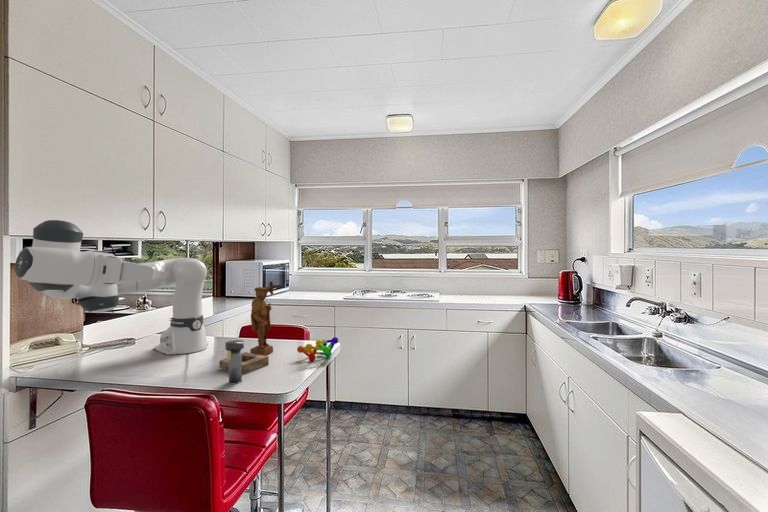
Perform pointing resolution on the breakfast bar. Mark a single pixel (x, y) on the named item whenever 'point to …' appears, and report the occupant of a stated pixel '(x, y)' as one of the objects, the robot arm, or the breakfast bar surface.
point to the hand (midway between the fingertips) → (159, 274)
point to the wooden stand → (248, 362)
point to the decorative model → (318, 348)
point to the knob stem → (234, 360)
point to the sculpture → (261, 319)
